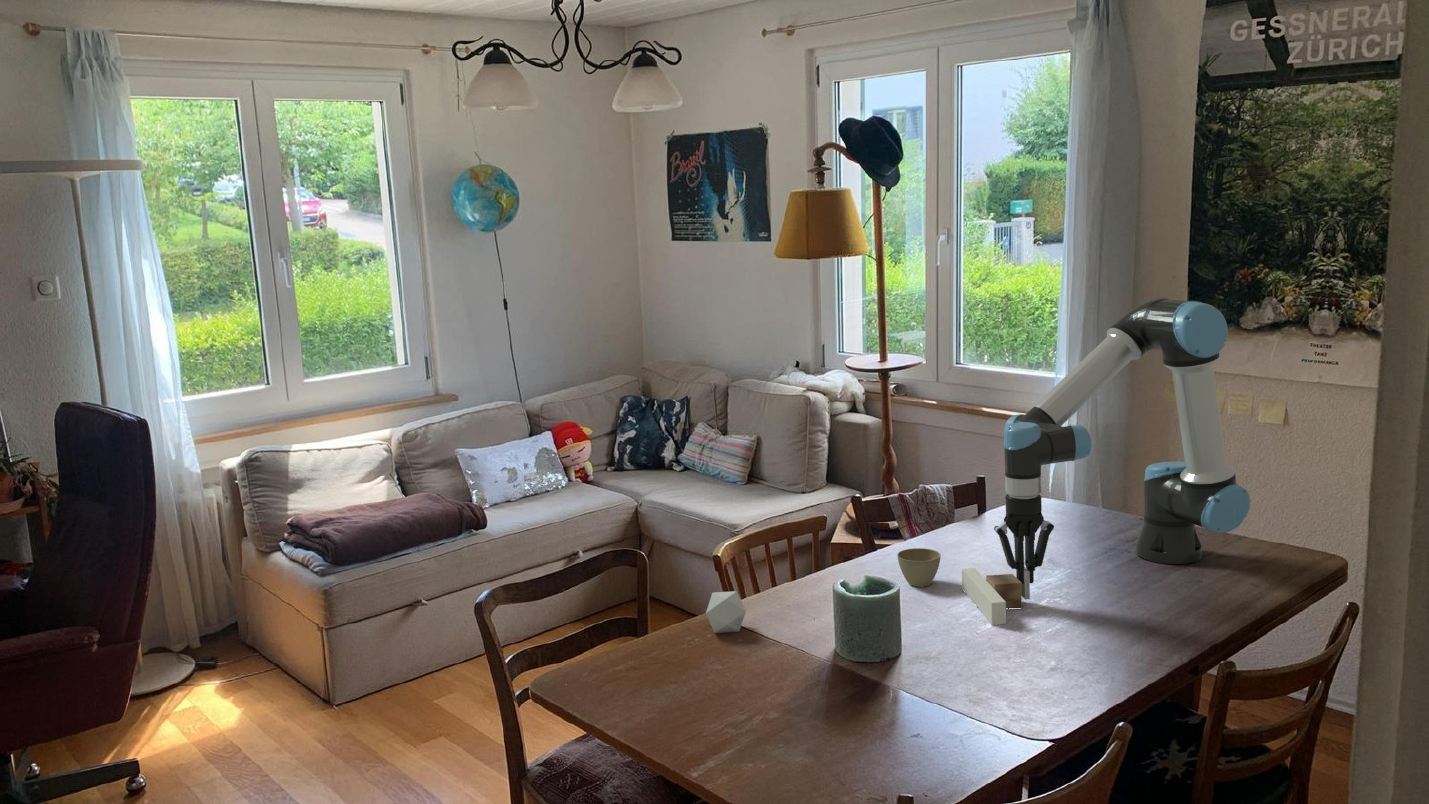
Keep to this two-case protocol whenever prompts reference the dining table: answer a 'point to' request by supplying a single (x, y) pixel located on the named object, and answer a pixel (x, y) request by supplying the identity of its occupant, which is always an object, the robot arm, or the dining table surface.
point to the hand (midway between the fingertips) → (1025, 597)
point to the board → (984, 596)
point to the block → (1007, 589)
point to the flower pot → (919, 565)
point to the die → (725, 612)
